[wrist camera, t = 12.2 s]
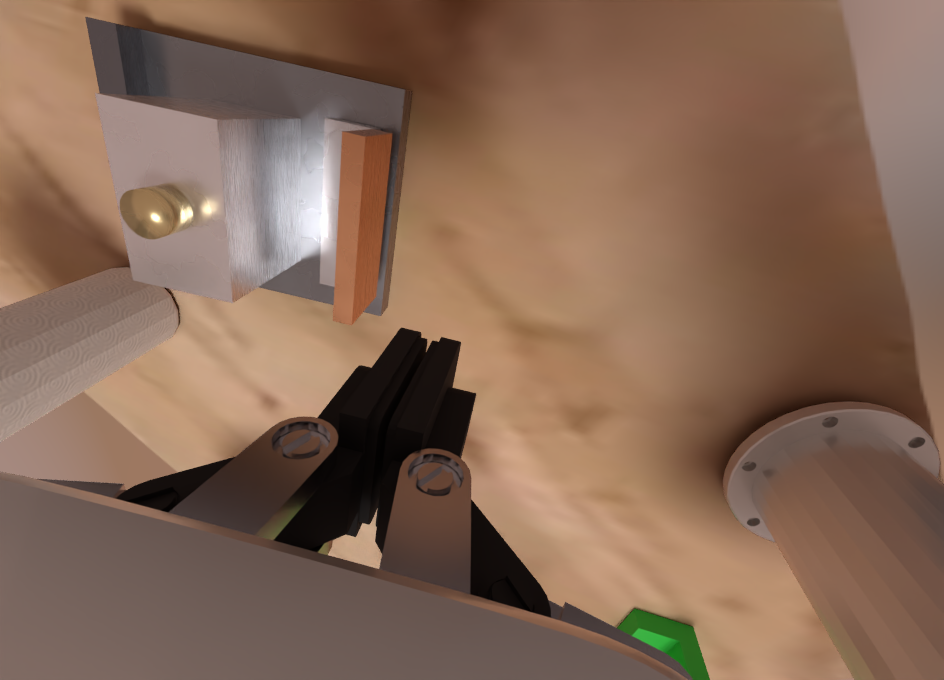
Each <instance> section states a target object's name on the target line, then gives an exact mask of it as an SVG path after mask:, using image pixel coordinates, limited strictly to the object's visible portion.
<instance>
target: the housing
mask: <svg viewBox="0 0 944 680" xmlns="http://www.w3.org/2000/svg"><path fill="white" fill-rule="evenodd" d="M95 95H96V100H97V105H98V110H99V115H100V120H101V124H102V129H103V134H104V139H105V144H106V149H107V154H108V159H109V164H110V169H111V174H112V179H113V184H114V189H115V194H116V198H117V203H118V208H119V213H120V218H121V223H122V228H123V233H124V238H125V243H126V248H127V253H128V258H129V263H130V267H131V272H132V277H133V280H134V281H138V282H142V283H147V284H151V285H156V286H160V287H164V288H169V289H173V290H178V291H182V292H187V293H191V294H195V295H200V296H204V297H209V298H213V299H217V300H222V301H226V302H231V303H233V302H235V301H237V300H238V299H240V298H241V297H243V296H245V295H246V294H248V293H249V292H251V291H253V290H254V289H256V288H257V287H259V286H261V285H262V284H264V283H265V282H267V281H269V280H270V279H272V278H273V277H275V276H277V275H278V274H280V273H281V272H283V271H285V270H286V269H288V268H289V267H291V266H293V265H294V264H296V263H297V262H299V261H301V119H299V118H295V117H290V116H285V115H281V114H276V113H272V112H267V111H262V110H258V109H253V108H249V107H244V106H239V105H235V104H230V103H226V102H221V101H216V100H212V99H195V98H177V97H158V96H139V95H121V94H102V93H95Z"/></svg>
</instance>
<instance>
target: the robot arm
mask: <svg viewBox="0 0 944 680" xmlns="http://www.w3.org/2000/svg"><path fill="white" fill-rule="evenodd" d="M460 346H461V342H459V341H455V340H451V339H447V338H443V337H441V339H440V341H439V342H437V341H432V342H431V344H430V346H429V348H428V350H427V352H426V348H427V339H425V338H421V332H418V331H413V330H409V329H405V328H400V329H399V331H398V332H397V334H396V335H395V336H394V338H393V339H392V341H391V342H390V343H389V345H388V346H387V347H386V349H385V350H384V352H383V353H382V354H381V356H380V357H379V359H378V360H377V361H376V363H375V364H374V365H373V367H372V368H370V367H366V366H362V365H361V366H358V367H357V368H356V369H355V371H354V372H353V373H352V374H351V376H350V377H349V378H348V380H347V381H346V382H345V383H344V385H343V386H342V387H341V389H340V390H339V391H338V392H337V394H336V395H335V396H334V397H333V399H332V400H331V401H330V403H329V404H328V405H327V406H326V408H325V409H324V410H323V411H322V413H321V414H320V415H319V417H318V418H315V417H296V418H290V419H287V420H284V421H282V422H279V423H278V424H276V425H275V426H273V427H271V428H270V429H269V430H268V431H266V432H265V433H264V434H263V435H262V436H260V437H259V438H258V439H257V440H256V441H254V442H253V443H252V444H251V445H249V446H248V447H247V448H246V449H245V450H243V451H242V452H241V453H240V454H239V455H237V456H236V457H233V458H229V459H226V460H222V461H218V462H215V463H211V464H207V465H204V466H200V467H196V468H193V469H189V470H185V471H182V472H178V473H175V474H171V475H168V476H164V477H160V478H157V479H153V480H149V481H147V482H144V483H141V484H138V485H136V486H134V487H132V488H130V489H128V490H126V489H125V486H124V484H116V483H100V482H82V481H65V480H47V479H34V478H30V477H25V476H20V475H15V474H10V473H4V472H0V680H693V679H692V677H691V676H690V675H689V673H688V672H687V671H686V670H685V669H684V668H683V667H682V665H681V664H680V663H679V662H677V661H676V660H675V659H673V658H672V657H670V656H669V655H667V654H666V653H665V652H663V651H661V650H659V649H657V648H655V647H653V646H651V645H649V644H647V643H645V642H643V641H641V640H639V639H637V638H635V637H633V636H631V635H629V634H627V633H625V632H623V631H621V630H619V629H617V628H615V627H614V626H612V625H610V624H608V623H606V622H604V621H602V620H600V619H598V618H596V617H594V616H592V615H590V614H588V613H586V612H584V611H582V610H580V609H578V608H576V607H574V606H572V605H570V604H568V603H566V602H565V604H564V606H563V607H561V606H559V605H557V604H555V603H553V602H551V601H549V600H548V598H547V595H546V594H545V592H544V591H543V589H542V587H541V586H540V584H539V583H538V582H537V580H536V579H535V578H534V577H533V575H532V574H531V573H530V572H529V570H528V569H527V568H526V567H525V565H524V564H523V563H522V562H521V560H520V559H519V558H518V557H517V556H516V554H515V553H514V552H513V551H512V549H511V548H510V547H509V546H508V544H507V543H506V542H505V541H504V539H503V538H502V537H501V536H500V534H499V533H498V532H497V531H496V529H495V528H494V527H493V526H492V524H491V523H490V522H489V521H488V519H487V518H486V517H485V516H484V515H483V513H482V512H481V511H480V510H479V508H478V507H477V506H476V505H475V503H474V502H473V501H472V500H471V474H470V470H469V468H468V467H467V465H466V463H465V462H464V461H463V460H462V459H461V456H462V452H463V448H464V444H465V440H466V436H467V432H468V428H469V423H470V419H471V415H472V411H473V406H474V402H475V397H476V393H472V392H468V391H464V390H460V389H456V388H452V387H453V382H454V377H455V372H456V366H457V361H458V356H459V351H460ZM939 469H940V458H939V451H938V448H937V447H936V445H935V443H934V441H933V439H932V437H931V436H930V435H929V434H928V433H927V432H926V431H925V430H924V429H923V428H922V427H920V426H919V425H918V424H916V423H915V422H914V421H912V420H911V419H910V418H908V417H907V416H906V415H904V414H902V413H900V412H898V411H895V410H893V409H891V408H889V407H885V406H881V405H876V404H872V403H864V402H850V401H847V402H832V403H824V404H819V405H814V406H809V407H805V408H802V409H799V410H796V411H793V412H790V413H787V414H785V415H783V416H781V417H779V418H777V419H775V420H773V421H771V422H769V423H767V424H765V425H764V426H762V427H761V428H759V429H758V430H757V431H755V432H754V433H752V434H751V435H750V436H749V437H748V438H747V439H746V440H745V441H744V442H743V443H741V444H740V445H739V447H738V448H737V449H736V451H735V452H734V454H733V455H732V456H731V458H730V460H729V462H728V464H727V466H726V469H725V472H724V478H723V490H724V496H725V498H726V501H727V503H728V505H729V507H730V509H731V511H732V512H733V514H734V516H735V517H736V519H737V520H738V521H739V522H740V523H741V524H742V525H743V526H744V527H745V528H746V529H748V530H749V531H751V532H753V533H754V534H756V535H758V536H760V537H762V538H765V539H767V540H770V541H773V542H776V544H777V546H778V547H779V549H780V551H781V553H782V554H783V556H784V558H785V560H786V561H787V563H788V565H789V567H790V568H791V570H792V572H793V574H794V575H795V577H796V579H797V581H798V582H799V584H800V586H801V588H802V589H803V591H804V593H805V595H806V596H807V598H808V600H809V601H810V603H811V605H812V607H813V608H814V610H815V612H816V614H817V615H818V617H819V619H820V621H821V622H822V624H823V626H824V628H825V629H826V631H827V633H828V635H829V636H830V638H831V640H832V642H833V643H834V645H835V647H836V649H837V650H838V652H839V654H840V655H841V657H842V659H843V661H844V662H845V664H846V666H847V668H848V669H849V671H850V673H851V675H852V676H853V678H854V680H944V484H943V483H942V482H941V481H940V480H938V479H937V478H938V475H939ZM377 508H378V510H377ZM376 510H377V518H376V527H377V531H376V539H375V542H376V544H377V545H378V547H379V549H380V551H381V553H382V558H381V563H380V568H379V569H376V568H373V567H369V566H365V565H362V564H358V563H354V562H351V561H347V560H343V559H340V558H336V557H332V556H328V553H329V551H330V549H331V547H332V543H333V540H334V539H336V538H338V537H341V536H343V535H345V534H346V535H350V536H354V537H356V536H357V533H358V531H359V529H360V527H361V525H362V523H365V524H370V523H371V521H372V519H373V517H374V515H375V512H376Z"/></svg>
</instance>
